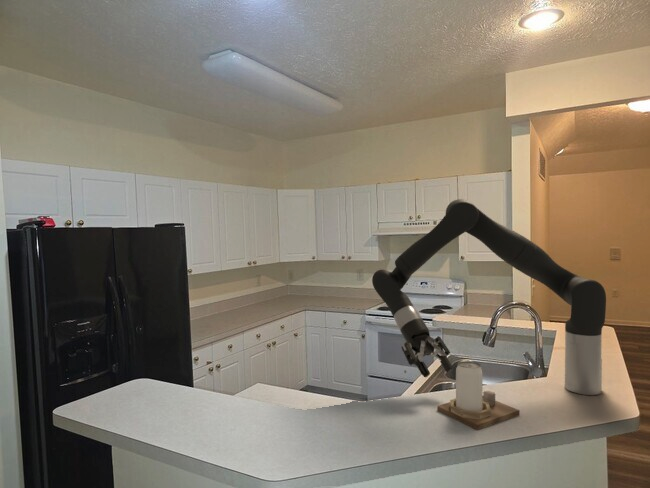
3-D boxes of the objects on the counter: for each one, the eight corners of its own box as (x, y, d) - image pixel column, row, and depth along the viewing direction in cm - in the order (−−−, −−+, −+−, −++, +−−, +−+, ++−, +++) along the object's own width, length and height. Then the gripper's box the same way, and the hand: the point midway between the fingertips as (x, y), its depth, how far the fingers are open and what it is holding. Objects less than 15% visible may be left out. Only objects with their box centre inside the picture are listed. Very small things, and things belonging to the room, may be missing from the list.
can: (484, 416, 106) (484, 369, 106) (457, 414, 107) (457, 367, 107) (480, 406, 112) (480, 361, 112) (454, 404, 114) (454, 359, 113)
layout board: (478, 397, 121) (478, 383, 121) (519, 414, 110) (519, 398, 109) (437, 410, 113) (437, 394, 113) (477, 429, 101) (477, 412, 101)
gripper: (398, 320, 122) (426, 370, 112) (434, 314, 129) (464, 362, 120) (386, 334, 127) (413, 384, 117) (422, 328, 134) (449, 375, 124)
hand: (438, 373), depth 118 cm, fingers open, 8 cm apart
